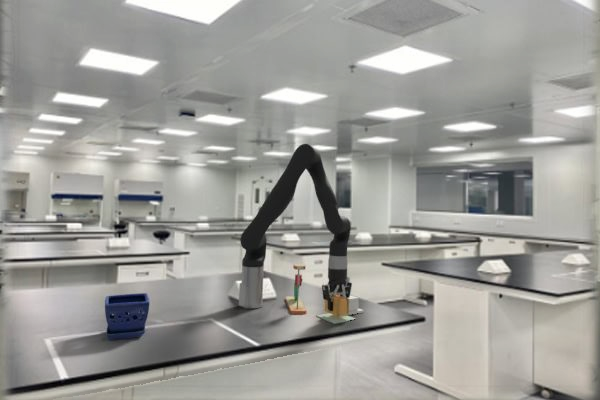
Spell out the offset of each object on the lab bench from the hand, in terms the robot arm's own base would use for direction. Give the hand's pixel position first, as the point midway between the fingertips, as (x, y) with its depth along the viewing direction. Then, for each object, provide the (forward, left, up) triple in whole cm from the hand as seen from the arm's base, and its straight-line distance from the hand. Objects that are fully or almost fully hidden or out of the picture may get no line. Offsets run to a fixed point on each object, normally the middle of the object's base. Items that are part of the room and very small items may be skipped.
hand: (336, 309), depth 158 cm
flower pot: (-74, +20, -4) cm, 76 cm away
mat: (0, 0, -3) cm, 3 cm away
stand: (+10, +6, -3) cm, 12 cm away
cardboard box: (0, 0, -1) cm, 1 cm away
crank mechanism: (-4, +23, -4) cm, 23 cm away
